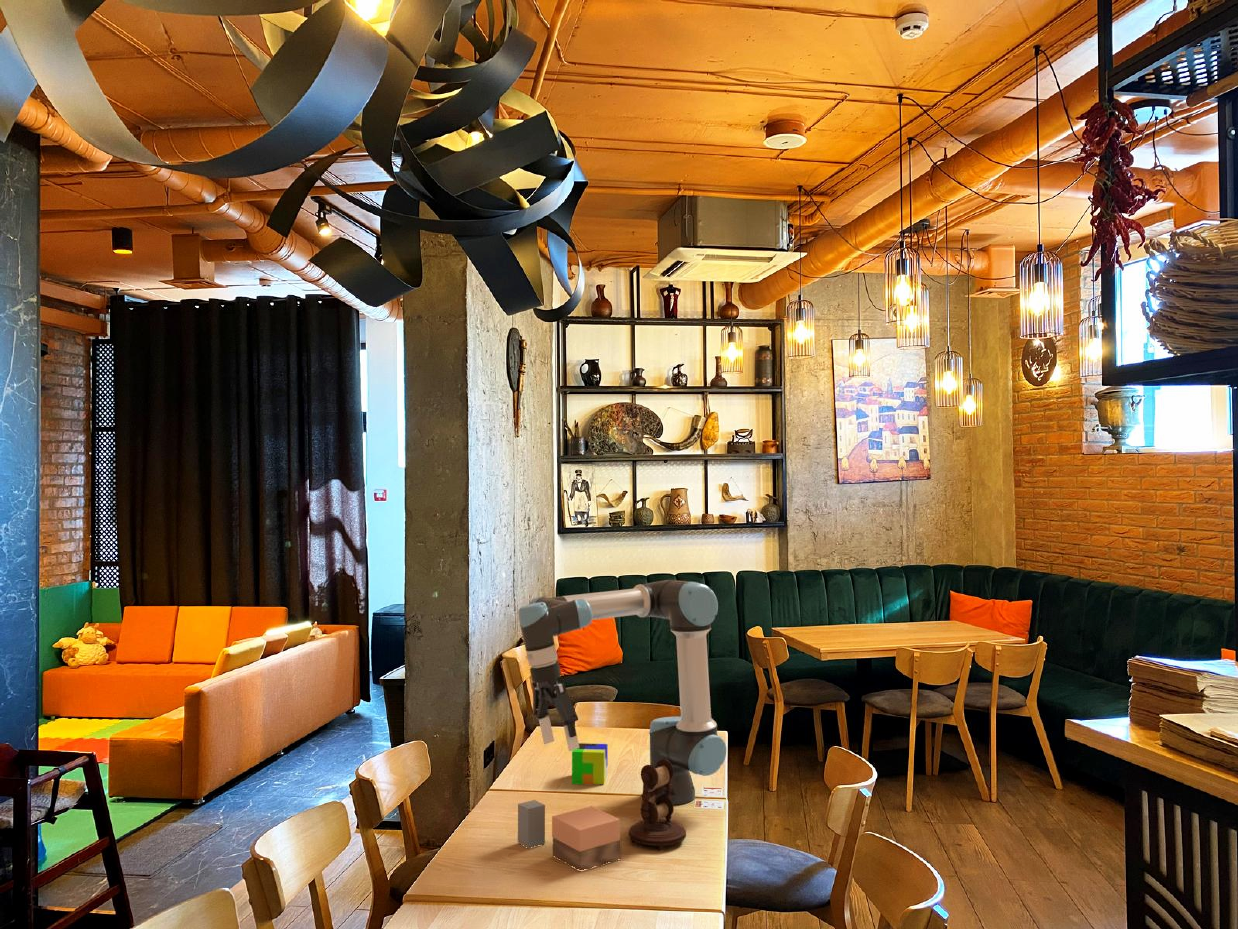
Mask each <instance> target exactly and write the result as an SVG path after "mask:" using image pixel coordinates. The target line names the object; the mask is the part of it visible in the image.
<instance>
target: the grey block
mask: <svg viewBox="0 0 1238 929" xmlns="http://www.w3.org/2000/svg"><path fill="white" fill-rule="evenodd" d="M518 842H519V843H520V844H521V845H524V846H525V847H527V848H528V849H527V848H526V849H527V850H530V849H529V848H531V847H534V846H538V845H542V846H545V845H546V804H544V803H542V802H540V801H538V800H536V799H532V800H527V801H524V802H519V803H517V843H518ZM520 844H519V845H520ZM544 844H545V845H544ZM521 845H520V846H521ZM525 847H524V848H525Z"/></svg>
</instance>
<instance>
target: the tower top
mask: <svg viewBox="0 0 1238 929" xmlns="http://www.w3.org/2000/svg"><path fill="white" fill-rule="evenodd" d="M551 836H552V839H553V838H555V839H557V840H559V841H561V842H563V843H564V844H566V845H568V846H570V847H572V848H574V849H576V850H578V851H579V852H581V851H584V850H588V849H591V848H595V847H598V846H602V845H605V844H608V843H612V842H615V841H619V840H621V819H620V818H618V817H616V816H614V815H611V814H609V813H607V812H605V811H603V810H600V809H599V808H596V807H594V806H586V807H583V808H579V809H576V810H572V811H568V812H563V813H561V814H556V815H552V817H551Z"/></svg>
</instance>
